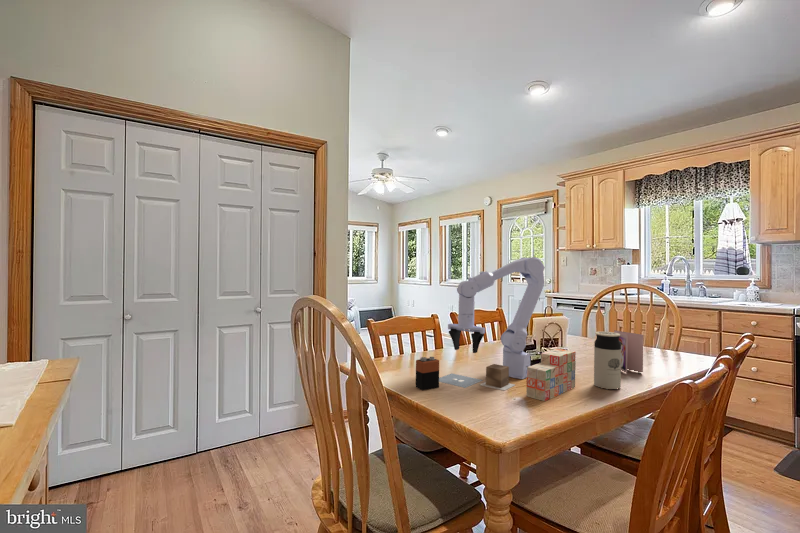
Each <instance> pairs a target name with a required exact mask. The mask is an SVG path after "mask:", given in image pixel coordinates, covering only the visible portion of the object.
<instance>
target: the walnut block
mask: <svg viewBox="0 0 800 533" xmlns="http://www.w3.org/2000/svg"><path fill="white" fill-rule="evenodd" d="M509 379H510V377H509V367H508V366H503V364H502V365H501V364H497V363H493V364H490V365H487V366H486V367H485V382H486V385H489V386H494V387H498V388H502V387H504V386H506V385H509V383H510V382H509Z"/></svg>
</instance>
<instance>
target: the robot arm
mask: <svg viewBox="0 0 800 533" xmlns="http://www.w3.org/2000/svg"><path fill="white" fill-rule="evenodd" d="M545 267H546V266H544V263H543V262H542V260H541V259H540V258H539V257H537V256H533V257H521V258H520V259H519V258H518V259H515V260H513V261H511V262H509V263H506V264H505V265H503V266H501V267H500V268H497V269H495V270H494V271H492V272H489V271H487V270H485V271H483V270H482V271H480V272H479V274H477V275H475V276H472V277H468V278H467V279H468V280H463V281H461V282H459V284H458V285H457V287H456V291H457V292H456V293H458V315H457V316H458V317H457V318H458V320H457V321H458V323H448V324H447V330H449V331H448V335H450V338H451V341H452V344H453V347H454V351H458V350H460V340H461V339H460V338H461V333H462V332H470V333H471V334H470V335H471V341H472V354H476V353H478V349H479V346H480V344H481V342H482V339H483V337H484V336H485V334H486V327H482V326H478V325H477V326H476V325H475V303H476V302H475V296H476V294H478V293H480V292H483V291H484V290H487V289H488V288H490V287H492V286H494V284H495V282H496V281H497V280H499V279H502V278H504V277H506V276H509V275H511V274H513V273H520V275H522V276H523V278H524V279H525V281H526V283H527V285H526V289H525V291H524V293H523V296H522V298H521V300H520V303H519V306H518V308H517V311H516V313H515V316H514V317H513V320H512V322H511V323H510V324H509V325H508V326H507V328H506V330H505V331H504V332H503V333H501V336H500V342H501V344H502V345H503V348H502V366H508V367H509V378H514V379H519V380H523V379H527V367H529V366H531V355H530V353H528V352H525V351H524V350H525V349H526V346H527V337H528V332H527V329H528V328H527V327H528V326H529V325H528V324H529V322H530V320H531V318H532V315H533V314H534V310H535V308H536V305H537V303H538V300H540V299H539V298H540V296H541V294H542V292H543V289H544V286H545V276H544V270H545Z"/></svg>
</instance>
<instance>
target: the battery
mask: <svg viewBox="0 0 800 533" xmlns="http://www.w3.org/2000/svg"><path fill="white" fill-rule="evenodd" d="M439 378H440V360H439V359H436V358H435V356H429V357H426V356H425V357H424V356H422V357H420V358H419V359H416V360H415V388H417V389H419V390H421V391H427V390H432V389H433V390H434V389H437V388H440V382H439Z"/></svg>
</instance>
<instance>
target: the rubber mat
mask: <svg viewBox="0 0 800 533" xmlns="http://www.w3.org/2000/svg"><path fill="white" fill-rule="evenodd" d="M479 386H481V387H486V388H491V389H495V390H498V391H499V390H500V391H503V392H504V391H507V390H509V389H511V388H513V387H515V386H516V384H514V383H510V382H509V385H506V386H504V387H502V388H498V387H494V386H489V385H486V381H484V382H482V383H480V384H479Z"/></svg>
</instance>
